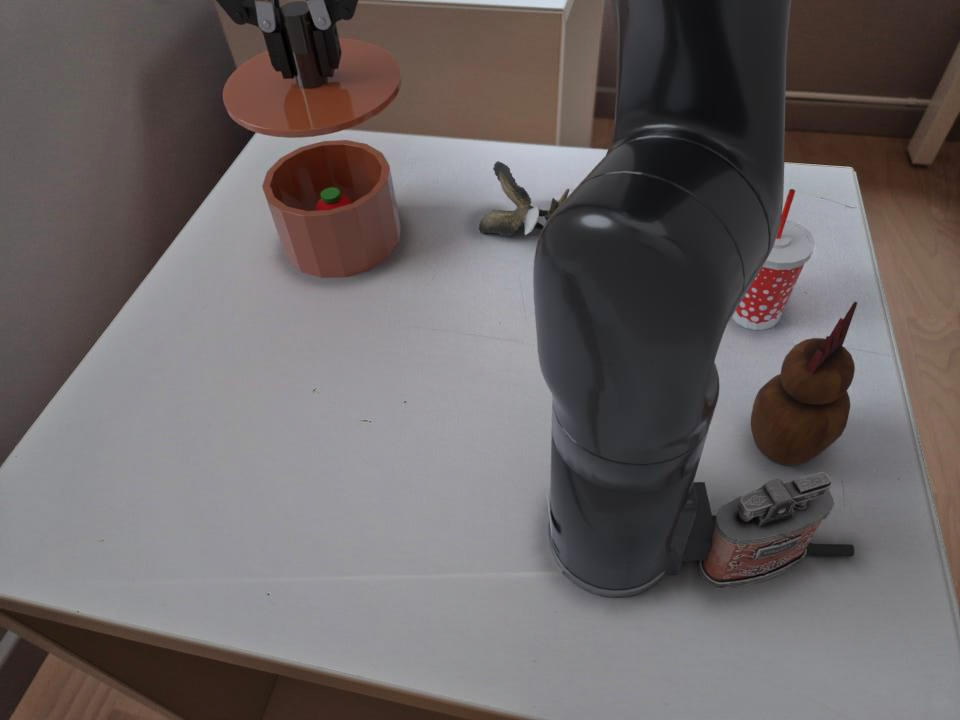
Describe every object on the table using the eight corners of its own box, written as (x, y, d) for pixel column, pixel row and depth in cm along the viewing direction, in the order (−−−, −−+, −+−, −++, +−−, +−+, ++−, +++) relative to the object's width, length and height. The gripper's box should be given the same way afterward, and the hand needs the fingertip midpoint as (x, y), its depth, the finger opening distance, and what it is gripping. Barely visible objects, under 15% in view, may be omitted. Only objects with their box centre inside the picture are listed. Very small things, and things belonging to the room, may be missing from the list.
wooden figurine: (798, 405, 64) (853, 274, 52) (843, 458, 60) (913, 330, 49) (728, 431, 62) (770, 303, 51) (770, 487, 59) (825, 362, 47)
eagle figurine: (572, 201, 82) (498, 171, 83) (569, 178, 75) (489, 145, 76) (541, 264, 81) (468, 232, 83) (536, 247, 74) (456, 212, 76)
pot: (404, 202, 85) (393, 137, 79) (396, 278, 77) (382, 212, 70) (295, 207, 86) (275, 143, 79) (275, 283, 78) (251, 218, 71)
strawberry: (362, 223, 82) (352, 179, 78) (358, 248, 80) (347, 204, 75) (325, 225, 83) (312, 181, 78) (319, 250, 80) (306, 206, 75)
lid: (407, 47, 62) (397, -37, 57) (396, 141, 54) (382, 51, 49) (246, 55, 63) (221, -28, 58) (209, 149, 54) (176, 61, 49)
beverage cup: (735, 281, 74) (768, 160, 63) (797, 304, 71) (843, 182, 61) (710, 320, 70) (741, 199, 60) (774, 345, 68) (818, 223, 57)
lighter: (711, 597, 53) (740, 530, 46) (689, 555, 55) (713, 484, 48) (813, 564, 54) (857, 493, 47) (788, 524, 56) (826, 450, 49)
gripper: (107, -180, 42) (208, 103, 55) (356, -195, 41) (398, 95, 54) (146, -216, 46) (230, 52, 60) (369, -229, 46) (404, 44, 59)
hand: (310, 71), depth 57 cm, fingers closed on lid, 2 cm apart
